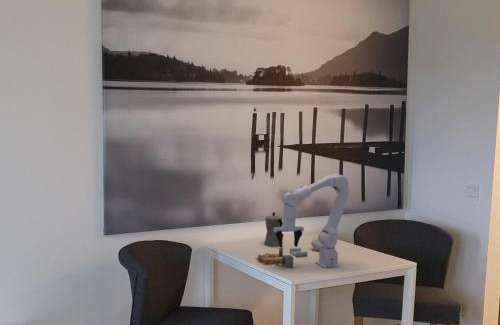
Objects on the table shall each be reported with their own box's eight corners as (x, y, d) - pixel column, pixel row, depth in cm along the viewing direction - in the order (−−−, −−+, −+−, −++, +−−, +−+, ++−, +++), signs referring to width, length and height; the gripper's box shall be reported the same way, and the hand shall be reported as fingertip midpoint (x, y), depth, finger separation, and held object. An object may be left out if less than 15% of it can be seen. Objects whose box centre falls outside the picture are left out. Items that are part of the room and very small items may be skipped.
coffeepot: (259, 243, 315) (260, 210, 313) (273, 241, 320) (274, 209, 318) (273, 249, 302) (274, 215, 300) (288, 247, 306) (289, 214, 305)
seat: (307, 256, 288) (307, 252, 288) (296, 257, 286) (296, 252, 286) (300, 252, 297) (300, 247, 297) (289, 252, 295) (289, 248, 295)
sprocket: (291, 263, 274) (291, 251, 273) (263, 264, 269) (263, 253, 269) (280, 255, 288) (280, 244, 287) (253, 257, 283) (253, 246, 282)
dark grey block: (292, 267, 268) (293, 257, 268) (285, 268, 267) (285, 257, 266) (289, 265, 272) (290, 254, 271) (281, 265, 270) (282, 255, 270)
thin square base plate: (289, 263, 274) (289, 263, 274) (264, 265, 270) (264, 264, 270) (279, 256, 287) (279, 255, 287) (254, 257, 283) (254, 257, 283)
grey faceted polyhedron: (322, 254, 297) (332, 238, 299) (308, 245, 298) (318, 229, 301) (320, 256, 305) (329, 240, 307) (306, 247, 306) (315, 232, 308)
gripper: (300, 216, 274) (298, 243, 275) (271, 217, 269) (270, 245, 270) (306, 219, 267) (304, 247, 268) (277, 219, 262) (276, 248, 264)
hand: (288, 246), depth 269 cm, fingers open, 7 cm apart
